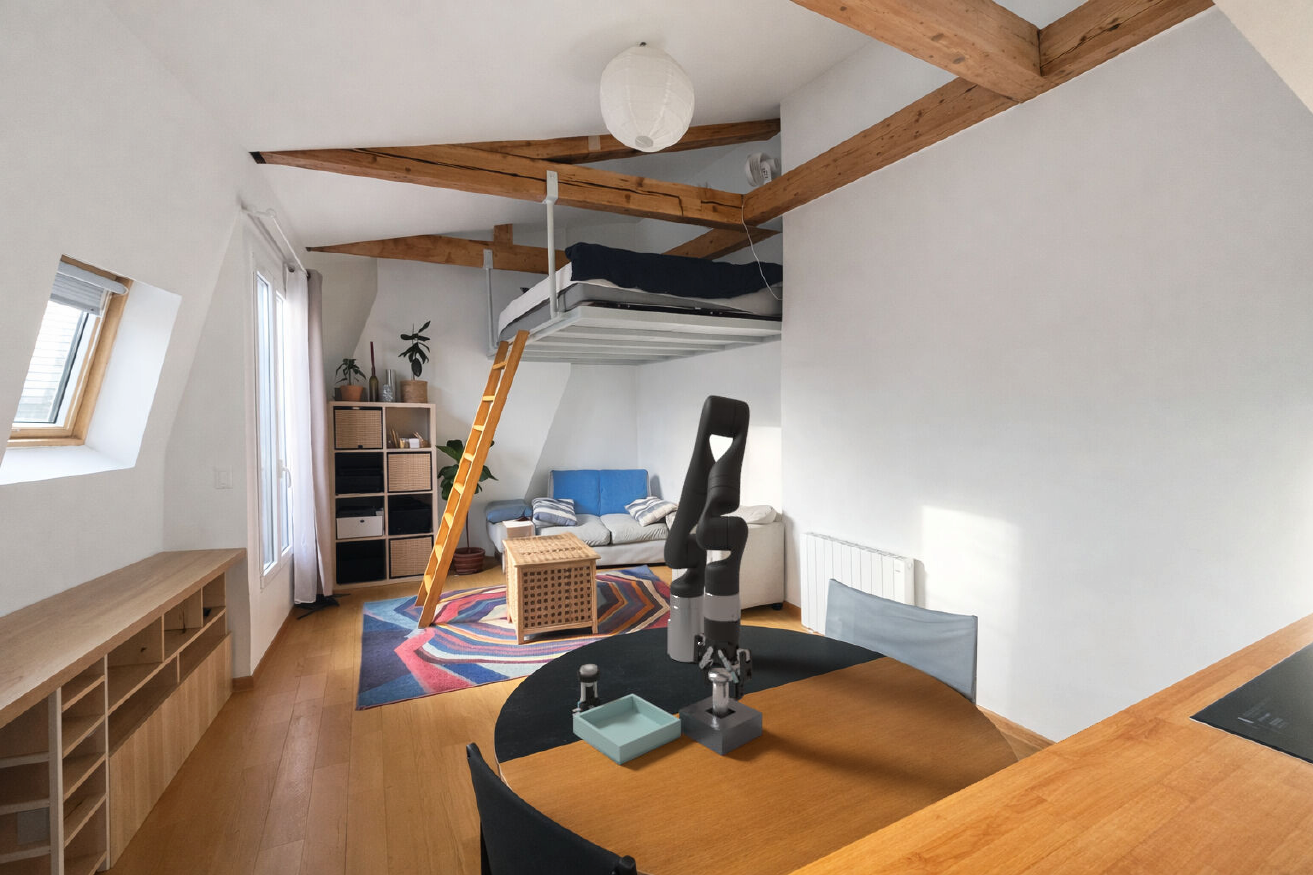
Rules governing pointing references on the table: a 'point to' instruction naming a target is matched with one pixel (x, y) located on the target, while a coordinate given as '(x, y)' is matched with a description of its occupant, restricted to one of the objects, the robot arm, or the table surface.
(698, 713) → the hitch block
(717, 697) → the steel pin
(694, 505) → the robot arm
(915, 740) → the table surface
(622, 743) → the tray
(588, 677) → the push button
